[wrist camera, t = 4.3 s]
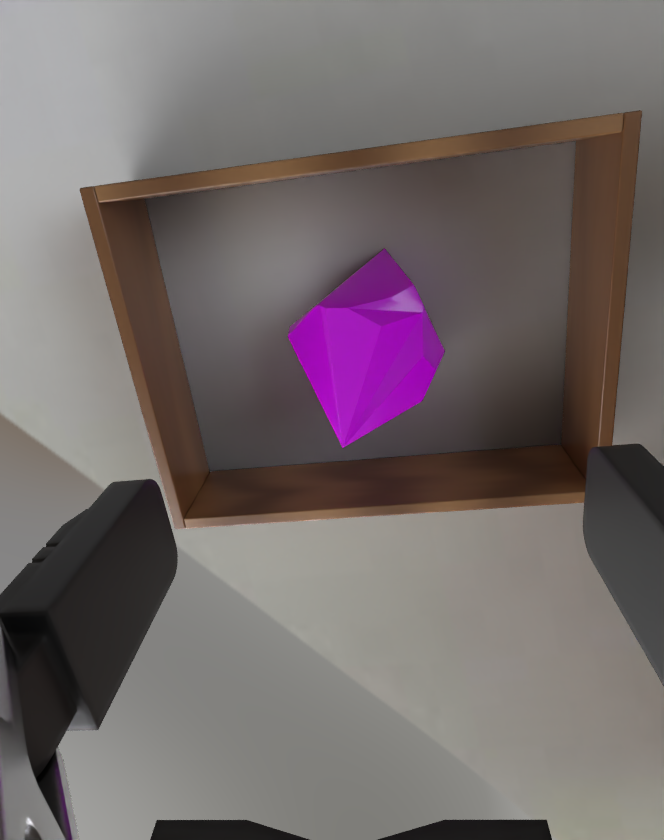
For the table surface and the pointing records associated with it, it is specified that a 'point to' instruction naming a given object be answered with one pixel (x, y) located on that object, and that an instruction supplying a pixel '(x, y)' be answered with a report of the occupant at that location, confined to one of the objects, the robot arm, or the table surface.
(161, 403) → the wooden box frame
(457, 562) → the table surface
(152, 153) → the table surface
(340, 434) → the crystal
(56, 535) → the robot arm
